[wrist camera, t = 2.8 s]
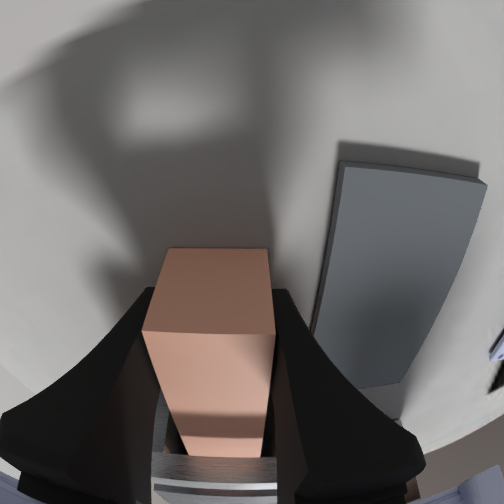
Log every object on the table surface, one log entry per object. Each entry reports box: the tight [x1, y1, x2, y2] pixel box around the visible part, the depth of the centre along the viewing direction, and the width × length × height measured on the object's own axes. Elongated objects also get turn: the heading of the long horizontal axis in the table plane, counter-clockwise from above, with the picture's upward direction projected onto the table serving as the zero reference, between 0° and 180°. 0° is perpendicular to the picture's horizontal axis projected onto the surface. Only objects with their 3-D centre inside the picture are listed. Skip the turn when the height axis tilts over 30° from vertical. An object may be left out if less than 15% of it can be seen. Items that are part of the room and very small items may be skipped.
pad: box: [310, 161, 487, 389], centre depth 13 cm, size 6×12×1 cm, turn 179°
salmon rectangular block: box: [142, 248, 276, 458], centre depth 13 cm, size 4×11×4 cm, turn 179°
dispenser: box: [151, 388, 277, 504], centre depth 15 cm, size 8×11×6 cm
